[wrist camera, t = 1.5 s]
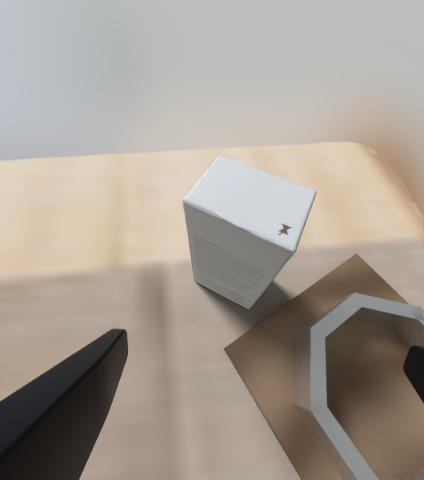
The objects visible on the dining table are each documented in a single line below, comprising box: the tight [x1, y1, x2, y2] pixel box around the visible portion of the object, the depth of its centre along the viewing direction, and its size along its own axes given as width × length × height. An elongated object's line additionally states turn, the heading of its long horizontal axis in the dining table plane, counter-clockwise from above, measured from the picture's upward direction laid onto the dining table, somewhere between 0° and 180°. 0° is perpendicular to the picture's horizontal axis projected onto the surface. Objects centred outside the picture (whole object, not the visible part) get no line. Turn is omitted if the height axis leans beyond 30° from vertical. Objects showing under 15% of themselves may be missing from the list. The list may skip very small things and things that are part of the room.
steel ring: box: [293, 293, 424, 480], centre depth 15 cm, size 12×12×3 cm
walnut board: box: [224, 254, 424, 480], centre depth 17 cm, size 16×16×1 cm
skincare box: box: [183, 155, 316, 310], centre depth 16 cm, size 6×4×12 cm
